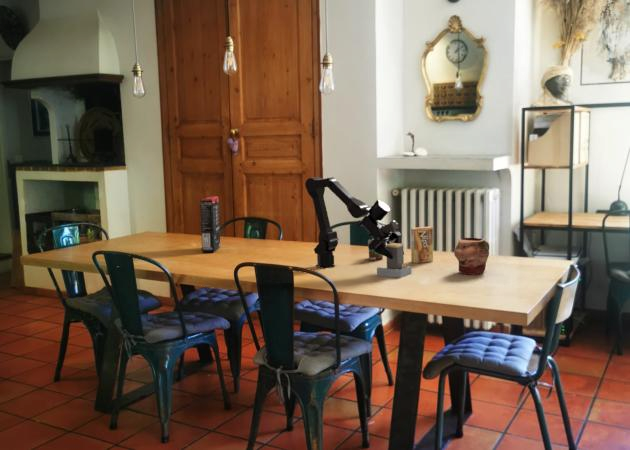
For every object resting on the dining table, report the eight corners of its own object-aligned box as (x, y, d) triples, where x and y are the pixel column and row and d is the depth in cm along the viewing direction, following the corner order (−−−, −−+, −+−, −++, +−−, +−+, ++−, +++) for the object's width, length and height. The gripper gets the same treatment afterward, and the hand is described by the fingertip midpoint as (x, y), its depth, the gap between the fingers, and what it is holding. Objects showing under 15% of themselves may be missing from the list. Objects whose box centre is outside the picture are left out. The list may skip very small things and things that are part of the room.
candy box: (429, 260, 296) (429, 226, 294) (433, 261, 292) (433, 227, 290) (411, 261, 294) (410, 227, 292) (414, 263, 290) (414, 228, 288)
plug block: (387, 275, 269) (386, 244, 268) (393, 272, 273) (392, 242, 272) (397, 276, 266) (397, 245, 265) (403, 273, 270) (403, 243, 269)
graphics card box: (208, 247, 350) (205, 196, 346) (221, 247, 350) (218, 195, 346) (201, 253, 333) (198, 199, 329) (215, 253, 333) (212, 199, 329)
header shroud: (377, 275, 270) (376, 263, 269) (388, 270, 277) (387, 259, 276) (400, 277, 263) (400, 265, 263) (411, 273, 271) (411, 261, 270)
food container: (381, 262, 295) (381, 240, 294) (368, 261, 297) (367, 239, 296) (387, 257, 307) (387, 235, 305) (374, 256, 309) (374, 235, 307)
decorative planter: (473, 266, 281) (473, 233, 279) (499, 269, 272) (499, 236, 270) (446, 274, 267) (446, 240, 265) (473, 278, 258) (473, 243, 256)
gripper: (374, 217, 261) (399, 247, 256) (397, 212, 276) (421, 240, 271) (357, 236, 267) (381, 265, 262) (381, 229, 282) (404, 257, 277)
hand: (398, 256), depth 268 cm, fingers open, 9 cm apart
